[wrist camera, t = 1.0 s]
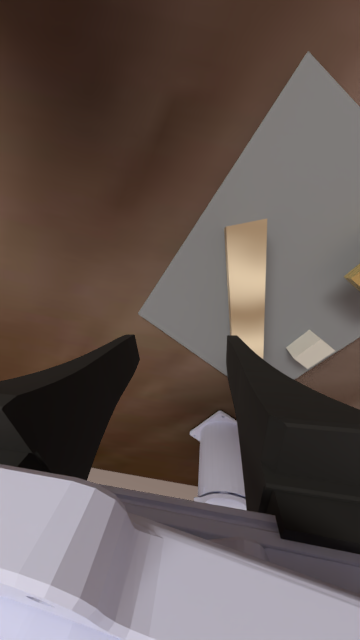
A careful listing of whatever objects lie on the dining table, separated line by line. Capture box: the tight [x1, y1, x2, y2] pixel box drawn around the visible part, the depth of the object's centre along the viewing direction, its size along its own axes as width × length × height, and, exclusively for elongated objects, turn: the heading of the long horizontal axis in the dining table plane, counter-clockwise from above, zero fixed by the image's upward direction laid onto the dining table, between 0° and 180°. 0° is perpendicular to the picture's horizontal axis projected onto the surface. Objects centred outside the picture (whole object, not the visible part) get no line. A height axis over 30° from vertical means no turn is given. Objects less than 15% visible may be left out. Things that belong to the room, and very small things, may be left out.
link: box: [224, 219, 267, 359], centre depth 17 cm, size 17×4×3 cm, turn 10°
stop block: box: [286, 330, 335, 369], centre depth 18 cm, size 2×3×2 cm, turn 144°
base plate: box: [138, 51, 360, 379], centre depth 17 cm, size 20×23×1 cm
